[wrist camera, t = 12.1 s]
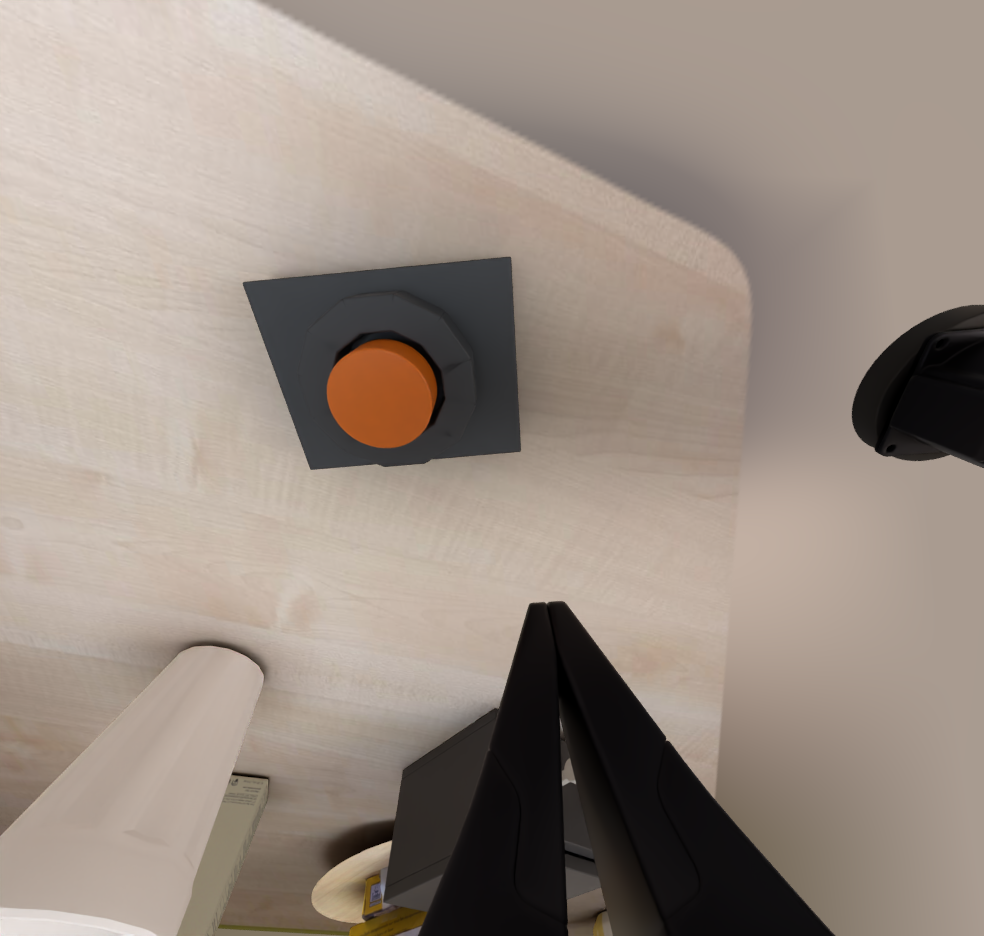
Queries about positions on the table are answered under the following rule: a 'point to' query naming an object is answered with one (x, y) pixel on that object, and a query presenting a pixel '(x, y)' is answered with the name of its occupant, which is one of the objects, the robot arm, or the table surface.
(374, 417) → the button
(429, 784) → the black box
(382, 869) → the stack of yellow boxes
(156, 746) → the cup
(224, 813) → the cosmetic box
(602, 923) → the mug
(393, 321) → the control block
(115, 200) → the table surface
